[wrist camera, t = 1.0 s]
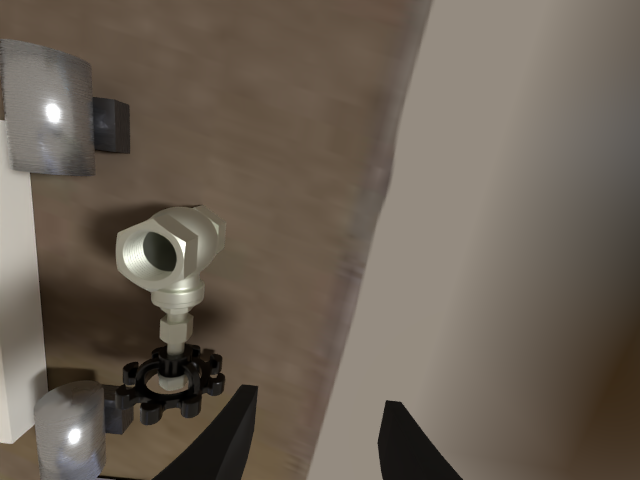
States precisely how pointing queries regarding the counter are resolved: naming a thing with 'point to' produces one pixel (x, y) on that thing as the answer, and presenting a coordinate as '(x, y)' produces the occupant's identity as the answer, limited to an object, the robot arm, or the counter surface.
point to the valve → (171, 307)
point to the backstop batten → (18, 304)
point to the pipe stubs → (75, 160)
